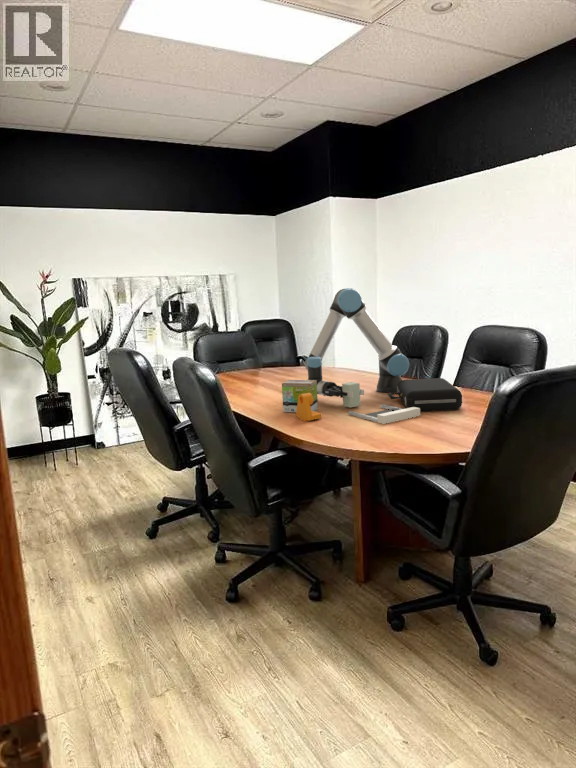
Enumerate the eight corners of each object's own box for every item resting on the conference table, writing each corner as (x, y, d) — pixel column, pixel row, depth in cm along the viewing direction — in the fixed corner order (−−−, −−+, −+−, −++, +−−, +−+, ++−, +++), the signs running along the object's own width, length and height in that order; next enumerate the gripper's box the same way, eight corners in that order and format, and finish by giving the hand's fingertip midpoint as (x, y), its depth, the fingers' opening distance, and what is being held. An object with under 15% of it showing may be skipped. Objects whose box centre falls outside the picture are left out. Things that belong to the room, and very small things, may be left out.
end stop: (413, 414, 244) (413, 406, 243) (420, 415, 240) (420, 408, 240) (377, 422, 233) (377, 414, 233) (383, 424, 230) (383, 416, 229)
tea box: (282, 412, 263) (280, 382, 261) (289, 408, 273) (288, 379, 270) (312, 413, 258) (310, 383, 256) (318, 408, 267) (316, 379, 265)
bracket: (322, 419, 245) (321, 393, 243) (308, 422, 241) (307, 395, 239) (310, 415, 254) (308, 390, 252) (296, 418, 251) (295, 392, 249)
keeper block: (352, 403, 270) (351, 381, 268) (360, 405, 265) (359, 383, 263) (343, 405, 267) (342, 383, 265) (350, 407, 262) (349, 385, 260)
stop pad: (387, 410, 255) (387, 409, 255) (409, 415, 242) (409, 414, 242) (360, 415, 247) (360, 415, 247) (382, 421, 235) (381, 420, 235)
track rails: (383, 407, 262) (383, 404, 261) (413, 414, 244) (413, 411, 243) (348, 414, 251) (347, 411, 251) (377, 422, 233) (377, 419, 233)
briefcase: (384, 398, 283) (384, 379, 282) (446, 395, 281) (446, 376, 279) (393, 414, 248) (393, 392, 246) (464, 411, 245) (464, 389, 244)
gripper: (342, 392, 285) (373, 397, 267) (313, 398, 274) (343, 404, 256) (341, 378, 284) (372, 382, 265) (312, 384, 273) (342, 389, 254)
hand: (358, 393), depth 261 cm, fingers closed on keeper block, 6 cm apart
